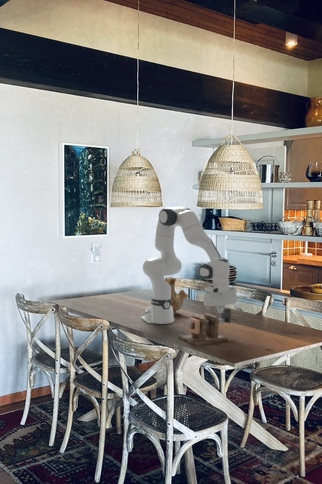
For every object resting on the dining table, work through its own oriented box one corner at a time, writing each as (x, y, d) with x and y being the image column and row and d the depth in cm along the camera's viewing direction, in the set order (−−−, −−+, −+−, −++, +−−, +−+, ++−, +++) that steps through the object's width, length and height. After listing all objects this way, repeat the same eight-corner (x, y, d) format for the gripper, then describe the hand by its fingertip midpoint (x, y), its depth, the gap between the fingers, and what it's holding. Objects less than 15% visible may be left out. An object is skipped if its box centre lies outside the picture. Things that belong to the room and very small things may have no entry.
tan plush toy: (189, 314, 337) (190, 276, 335) (168, 318, 325) (168, 278, 323) (170, 310, 351) (171, 273, 349) (149, 313, 338) (149, 275, 336)
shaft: (186, 325, 274) (186, 311, 273) (223, 320, 286) (224, 307, 286) (192, 327, 269) (193, 313, 268) (230, 322, 281) (231, 309, 281)
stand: (179, 338, 278) (179, 315, 277) (209, 334, 288) (210, 311, 287) (196, 345, 264) (197, 321, 263) (227, 340, 275) (228, 317, 274)
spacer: (188, 331, 275) (189, 317, 275) (191, 330, 276) (192, 317, 276) (196, 334, 269) (196, 320, 269) (199, 333, 270) (199, 320, 270)
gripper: (232, 285, 288) (231, 310, 289) (202, 288, 277) (201, 314, 278) (239, 287, 283) (239, 312, 284) (209, 290, 272) (208, 316, 273)
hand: (220, 313), depth 281 cm, fingers closed
